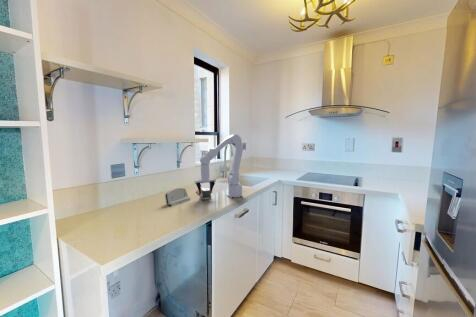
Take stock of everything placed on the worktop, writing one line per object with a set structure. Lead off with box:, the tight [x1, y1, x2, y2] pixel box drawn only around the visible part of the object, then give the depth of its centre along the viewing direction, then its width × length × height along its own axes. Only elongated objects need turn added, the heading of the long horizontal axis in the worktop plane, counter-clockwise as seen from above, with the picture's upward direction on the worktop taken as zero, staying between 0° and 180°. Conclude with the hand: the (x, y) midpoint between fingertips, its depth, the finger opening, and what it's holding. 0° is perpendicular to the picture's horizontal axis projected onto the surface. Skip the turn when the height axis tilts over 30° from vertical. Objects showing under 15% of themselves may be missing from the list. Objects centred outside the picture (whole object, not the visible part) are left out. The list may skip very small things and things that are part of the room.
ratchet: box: [195, 189, 212, 201], centre depth 153 cm, size 8×25×5 cm, turn 24°
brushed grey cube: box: [201, 186, 212, 198], centre depth 145 cm, size 6×6×5 cm
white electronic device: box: [164, 187, 191, 207], centre depth 138 cm, size 17×5×10 cm, turn 149°
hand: (205, 193), depth 145 cm, fingers open, 7 cm apart
